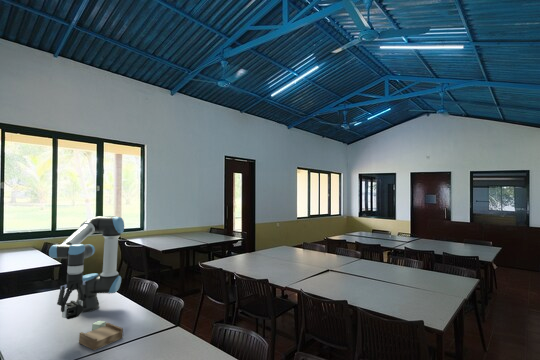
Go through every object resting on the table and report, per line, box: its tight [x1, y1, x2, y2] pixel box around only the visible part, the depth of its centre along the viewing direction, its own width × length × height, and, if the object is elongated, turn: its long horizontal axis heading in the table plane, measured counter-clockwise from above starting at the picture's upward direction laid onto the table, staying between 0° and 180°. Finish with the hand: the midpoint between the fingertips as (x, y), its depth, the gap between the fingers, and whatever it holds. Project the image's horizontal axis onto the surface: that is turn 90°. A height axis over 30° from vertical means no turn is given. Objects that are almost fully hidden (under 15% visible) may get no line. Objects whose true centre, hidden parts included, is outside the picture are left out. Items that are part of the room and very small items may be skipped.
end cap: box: [65, 300, 84, 320], centre depth 165 cm, size 10×7×7 cm
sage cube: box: [91, 320, 107, 331], centre depth 177 cm, size 5×5×5 cm
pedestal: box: [78, 322, 124, 351], centre depth 166 cm, size 16×14×5 cm
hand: (72, 314), depth 165 cm, fingers closed on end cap, 8 cm apart
